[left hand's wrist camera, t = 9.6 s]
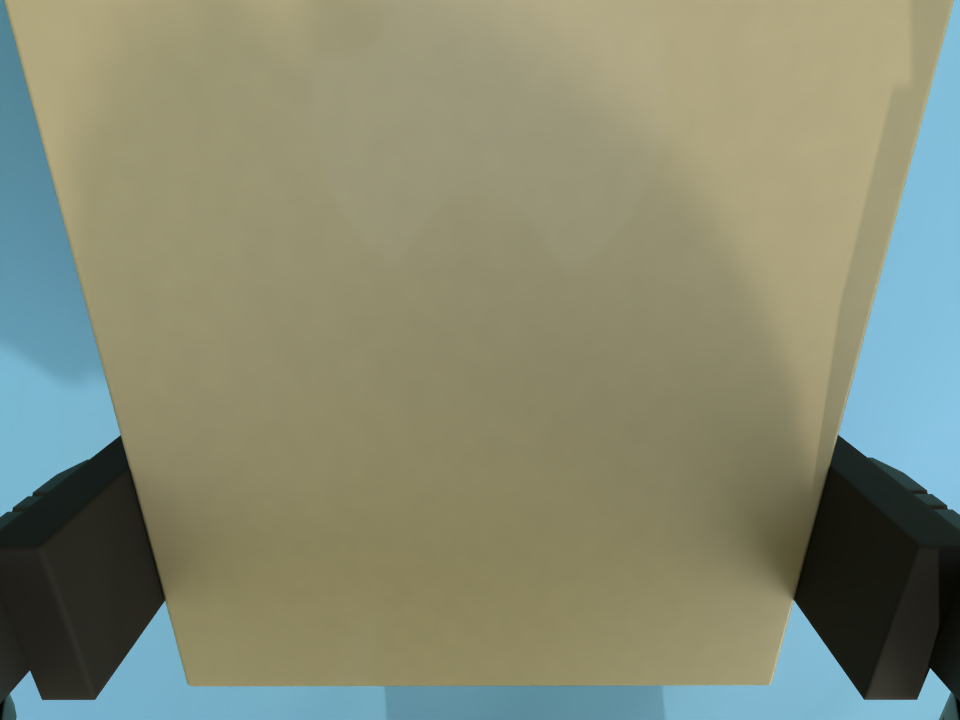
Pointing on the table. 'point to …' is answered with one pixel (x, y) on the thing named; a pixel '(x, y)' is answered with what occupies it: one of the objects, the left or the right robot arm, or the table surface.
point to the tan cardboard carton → (479, 315)
